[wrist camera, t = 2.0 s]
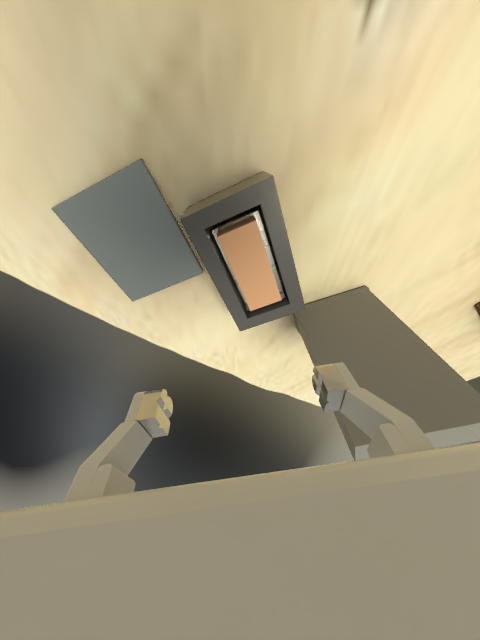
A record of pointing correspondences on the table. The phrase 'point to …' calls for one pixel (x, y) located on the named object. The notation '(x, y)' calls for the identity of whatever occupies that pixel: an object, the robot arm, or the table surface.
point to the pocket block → (265, 197)
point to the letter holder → (478, 307)
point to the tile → (249, 262)
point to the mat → (131, 232)
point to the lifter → (265, 241)
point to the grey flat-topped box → (389, 368)
